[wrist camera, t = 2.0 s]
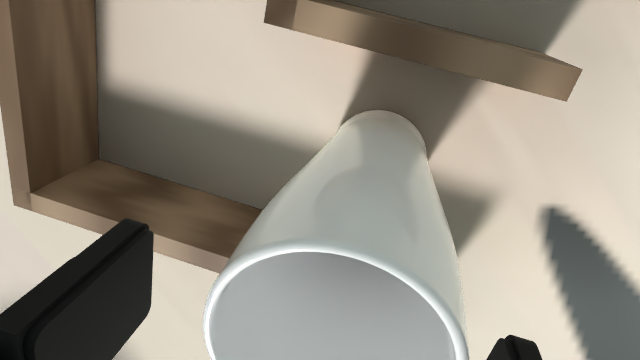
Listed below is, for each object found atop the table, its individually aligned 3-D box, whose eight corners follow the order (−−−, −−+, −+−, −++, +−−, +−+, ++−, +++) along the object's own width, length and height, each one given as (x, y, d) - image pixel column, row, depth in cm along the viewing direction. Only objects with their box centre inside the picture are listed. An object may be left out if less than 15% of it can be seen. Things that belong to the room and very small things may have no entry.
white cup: (316, 95, 23) (172, 230, 9) (443, 92, 21) (489, 248, 8) (324, 203, 25) (219, 431, 12) (436, 208, 24) (462, 474, 10)
